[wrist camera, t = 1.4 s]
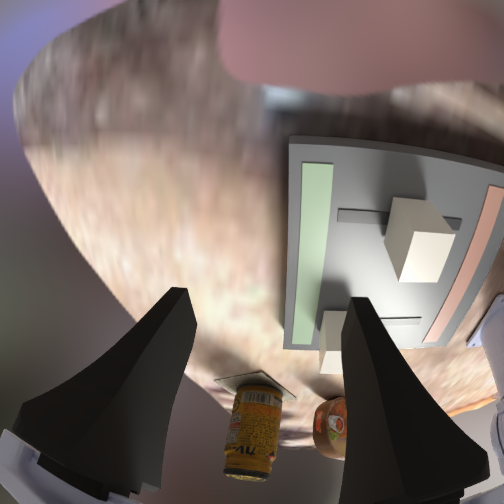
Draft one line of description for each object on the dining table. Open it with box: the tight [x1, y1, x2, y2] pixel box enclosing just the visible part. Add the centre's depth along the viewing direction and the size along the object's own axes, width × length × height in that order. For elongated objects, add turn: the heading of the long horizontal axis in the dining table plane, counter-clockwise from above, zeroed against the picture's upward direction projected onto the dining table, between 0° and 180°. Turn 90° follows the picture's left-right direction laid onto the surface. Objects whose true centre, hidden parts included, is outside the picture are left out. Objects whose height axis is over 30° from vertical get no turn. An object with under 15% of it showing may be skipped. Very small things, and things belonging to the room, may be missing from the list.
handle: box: [319, 311, 347, 374], centre depth 19 cm, size 2×3×4 cm
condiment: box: [214, 372, 297, 481], centre depth 29 cm, size 7×8×12 cm
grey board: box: [283, 135, 504, 350], centre depth 18 cm, size 16×17×2 cm
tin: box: [313, 397, 347, 460], centre depth 31 cm, size 15×3×8 cm, turn 45°
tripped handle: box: [384, 197, 456, 283], centre depth 13 cm, size 2×3×4 cm
